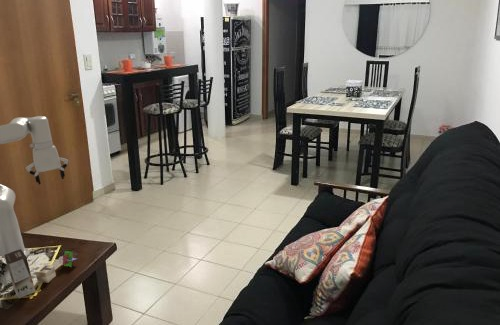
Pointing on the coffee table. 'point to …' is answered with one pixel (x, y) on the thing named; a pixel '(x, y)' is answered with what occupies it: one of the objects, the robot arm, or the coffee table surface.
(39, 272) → the letter block
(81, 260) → the coffee table surface
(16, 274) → the coffee box
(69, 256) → the geometric puzzle
